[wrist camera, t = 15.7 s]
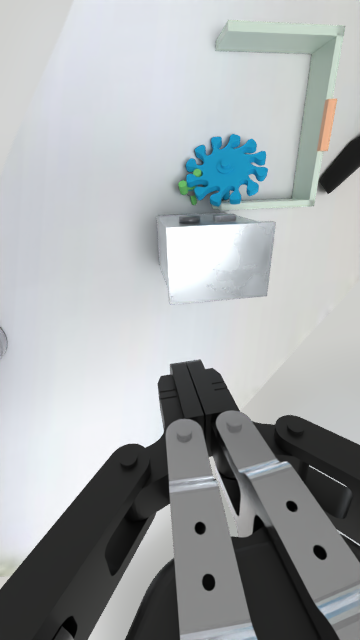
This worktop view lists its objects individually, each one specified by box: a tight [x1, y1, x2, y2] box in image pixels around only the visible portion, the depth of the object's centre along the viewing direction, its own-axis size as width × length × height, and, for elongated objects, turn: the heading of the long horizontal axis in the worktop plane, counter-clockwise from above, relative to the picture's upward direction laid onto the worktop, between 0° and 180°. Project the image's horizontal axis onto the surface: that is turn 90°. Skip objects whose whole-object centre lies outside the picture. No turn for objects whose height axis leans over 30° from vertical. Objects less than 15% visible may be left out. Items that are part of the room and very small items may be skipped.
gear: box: [178, 134, 268, 207], centre depth 36 cm, size 11×6×10 cm
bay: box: [212, 20, 345, 210], centre depth 34 cm, size 13×18×5 cm
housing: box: [156, 213, 276, 305], centre depth 34 cm, size 11×8×15 cm
